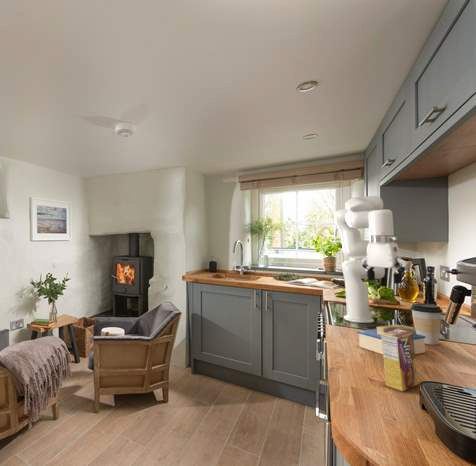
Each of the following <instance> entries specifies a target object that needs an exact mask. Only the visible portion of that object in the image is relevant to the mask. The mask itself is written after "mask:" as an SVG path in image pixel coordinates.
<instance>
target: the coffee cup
mask: <svg viewBox="0 0 476 466" xmlns="http://www.w3.org/2000/svg"><path fill="white" fill-rule="evenodd" d="M409 309H410V310H411V314H412V320H413V326H414V328H415V334H418V335H423V336H426V338H424V344H425V345H432V346H436V345H439V344H440V333H441V326H442V325H441V324H442V323H441V322H442V318H441V316H442V315H441V314H442V313H444V311H443V309H442V308H441V307H440V305H438V304H437V305H436V304H431V303H412V305H411V306H410V307H409Z"/></svg>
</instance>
